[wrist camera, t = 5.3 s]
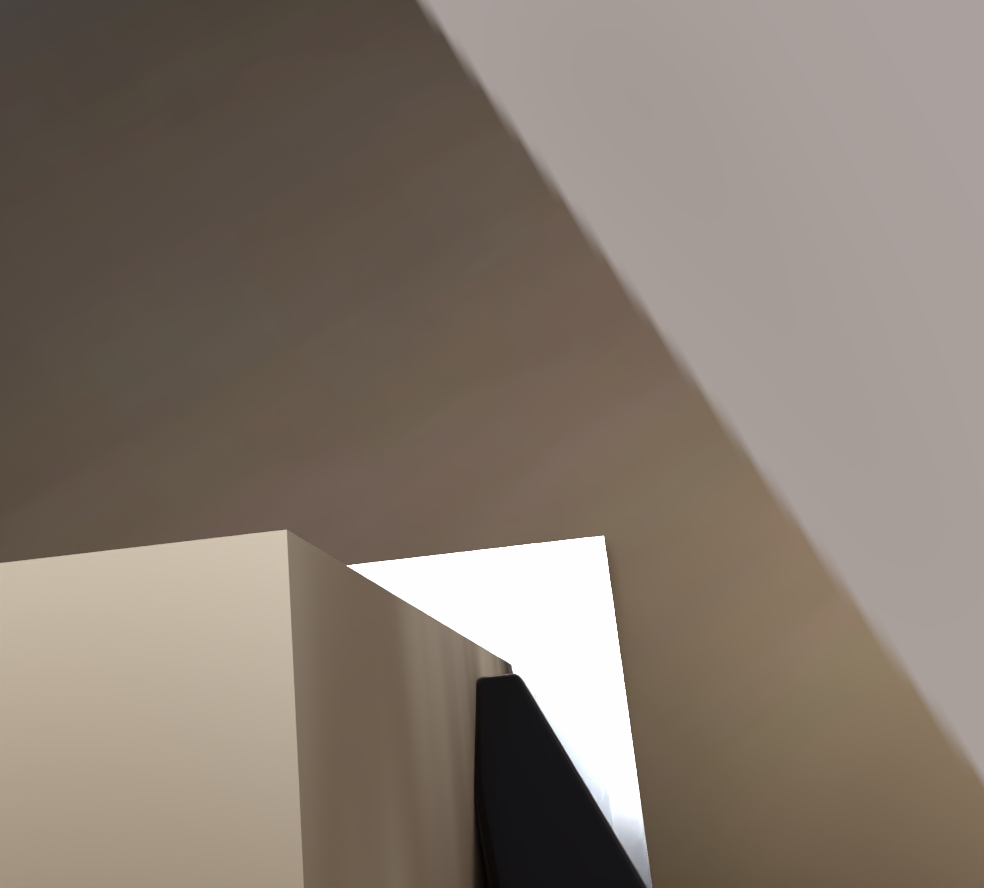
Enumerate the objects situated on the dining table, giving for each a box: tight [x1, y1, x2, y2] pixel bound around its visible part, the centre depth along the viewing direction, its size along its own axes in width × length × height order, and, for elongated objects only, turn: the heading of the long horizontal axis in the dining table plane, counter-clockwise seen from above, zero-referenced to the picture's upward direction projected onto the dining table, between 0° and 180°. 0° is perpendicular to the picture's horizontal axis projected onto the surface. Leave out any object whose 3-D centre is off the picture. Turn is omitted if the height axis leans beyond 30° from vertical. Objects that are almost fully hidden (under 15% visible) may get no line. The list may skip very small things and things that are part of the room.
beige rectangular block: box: [0, 530, 513, 888], centre depth 8 cm, size 4×2×13 cm, turn 6°
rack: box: [348, 536, 652, 888], centre depth 14 cm, size 8×6×4 cm
